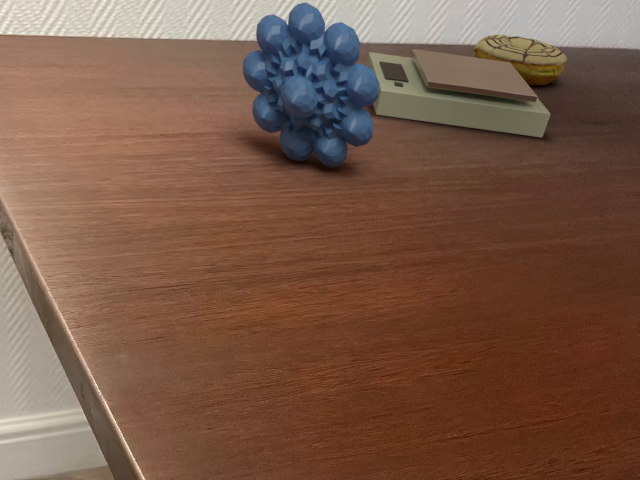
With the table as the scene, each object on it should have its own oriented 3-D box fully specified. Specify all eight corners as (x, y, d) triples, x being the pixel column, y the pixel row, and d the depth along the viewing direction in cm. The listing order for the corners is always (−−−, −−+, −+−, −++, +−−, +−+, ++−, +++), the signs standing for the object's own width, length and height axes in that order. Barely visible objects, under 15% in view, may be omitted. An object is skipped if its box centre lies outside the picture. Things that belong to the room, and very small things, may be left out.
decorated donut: (511, 59, 105) (521, 29, 103) (575, 86, 99) (587, 54, 96) (453, 62, 100) (462, 30, 98) (517, 91, 94) (528, 57, 91)
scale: (510, 94, 92) (518, 71, 91) (542, 137, 81) (551, 111, 80) (364, 73, 91) (369, 49, 90) (375, 114, 80) (381, 88, 79)
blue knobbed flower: (213, 158, 66) (230, -1, 59) (244, 135, 71) (263, -14, 64) (348, 196, 63) (383, 34, 56) (370, 169, 69) (405, 17, 61)
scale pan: (508, 68, 90) (510, 62, 89) (535, 102, 80) (537, 96, 80) (410, 54, 89) (412, 48, 89) (426, 87, 80) (428, 80, 79)
